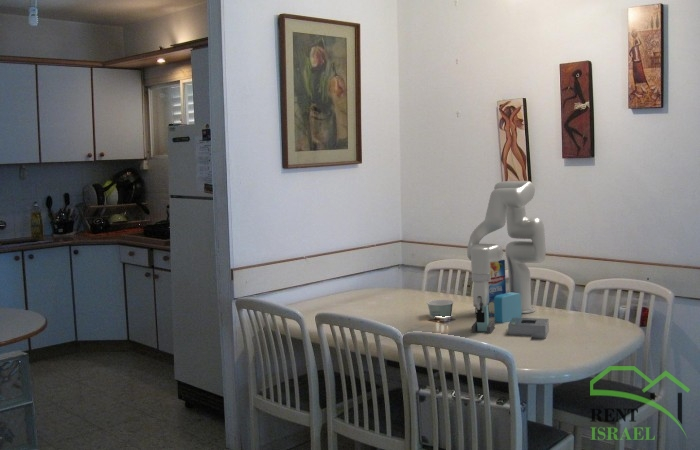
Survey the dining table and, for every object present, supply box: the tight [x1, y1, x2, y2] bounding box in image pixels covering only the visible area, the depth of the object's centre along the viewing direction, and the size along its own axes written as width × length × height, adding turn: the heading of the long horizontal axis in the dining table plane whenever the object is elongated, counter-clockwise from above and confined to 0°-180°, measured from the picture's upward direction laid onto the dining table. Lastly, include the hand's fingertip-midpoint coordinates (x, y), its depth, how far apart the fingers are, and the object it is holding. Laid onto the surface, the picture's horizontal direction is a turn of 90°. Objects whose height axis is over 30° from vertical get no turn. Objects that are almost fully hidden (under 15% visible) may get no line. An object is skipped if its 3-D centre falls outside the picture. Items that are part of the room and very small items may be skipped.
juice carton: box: [474, 258, 507, 318], centre depth 325 cm, size 12×8×24 cm, turn 122°
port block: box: [507, 317, 550, 340], centre depth 287 cm, size 12×14×6 cm
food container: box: [426, 299, 455, 319], centre depth 326 cm, size 12×12×6 cm
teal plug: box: [477, 305, 490, 331], centre depth 293 cm, size 4×4×11 cm
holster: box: [470, 320, 496, 334], centre depth 293 cm, size 10×8×4 cm
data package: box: [494, 291, 523, 324], centre depth 308 cm, size 12×4×12 cm, turn 126°
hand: (482, 319), depth 293 cm, fingers open, 9 cm apart
